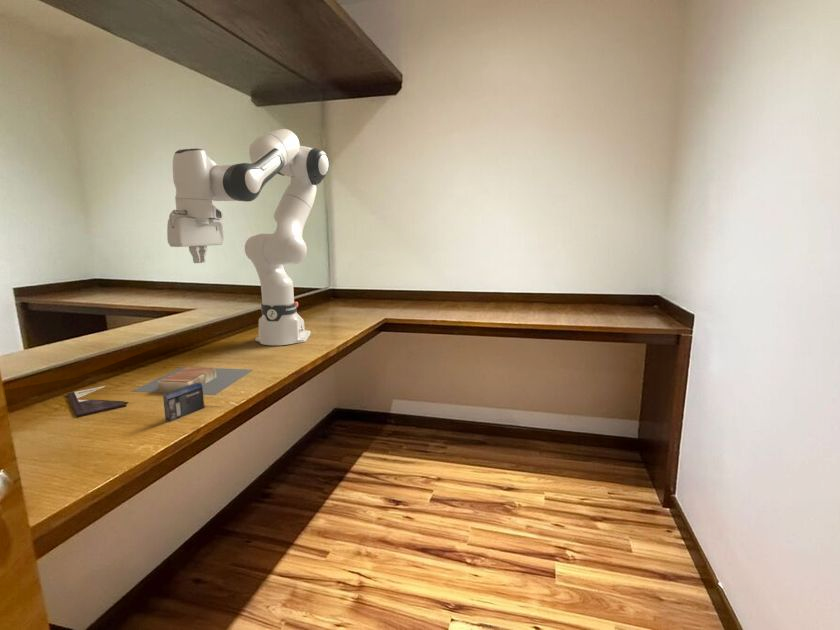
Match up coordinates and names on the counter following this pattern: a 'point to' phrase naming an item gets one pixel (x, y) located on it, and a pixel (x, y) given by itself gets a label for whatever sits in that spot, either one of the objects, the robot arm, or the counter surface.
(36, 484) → the counter surface
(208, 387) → the mat
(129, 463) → the counter surface
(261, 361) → the counter surface
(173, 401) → the mini dv tape
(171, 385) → the wooden block
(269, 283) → the robot arm
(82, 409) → the chocolate bar
